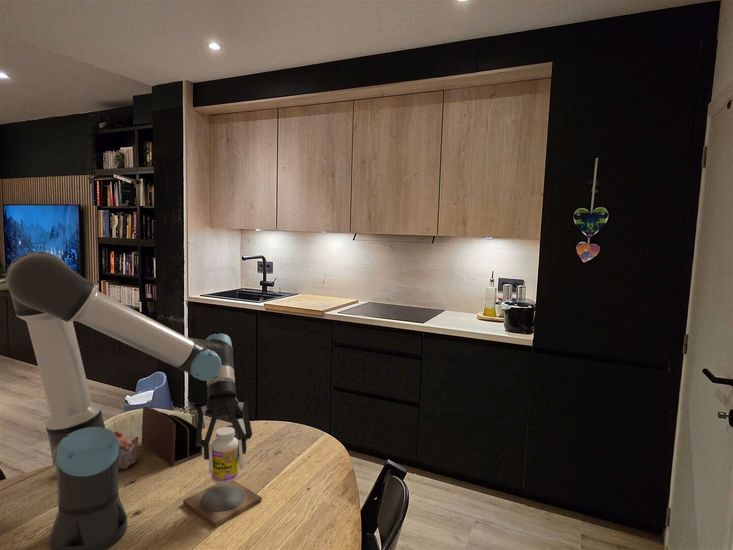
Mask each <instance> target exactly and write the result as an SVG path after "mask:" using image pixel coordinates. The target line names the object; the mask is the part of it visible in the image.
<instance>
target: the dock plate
mask: <svg viewBox="0 0 733 550" xmlns="http://www.w3.org/2000/svg"><path fill="white" fill-rule="evenodd" d="M262 498H263V497H262V496H261V495H259V494H257V493H255V492H254V491H252V490H251V489H249V488H247V487H246V486H243V485H242V484H240V483H239V482H237V481H236V480H234V481H232V482H230V483H227V484H218V483H215V484H214V485H212V486H210V487H208V488H205V489H203V490H202V491H200V492H196V493H194V494H193V495H191V496H189V497H187V498H184V499H183V500H182V501H183V502H182V504H183V506H184V507H186V508H188V509H189V510H190V511H191V512H193V513H195V514H196V515H197V516H198V517H200V518H201V519H202V520H204V521H205V522H207V523H208V524H210V525H211V526H212V527H214V528H215V529H216V528H218V527H219V526H220V525H222V524H225V523H226V522H228V521H230V520H232V519H233V518H234V517H237V516H238V515H240V514H242V513H244V512H245V511H247V510H249V509H251V508H253V507H254V506H256V505H257V504H260V503H261V502H262V501H263V500H262Z"/></svg>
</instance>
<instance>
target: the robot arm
mask: <svg viewBox="0 0 733 550" xmlns="http://www.w3.org/2000/svg"><path fill="white" fill-rule="evenodd" d="M5 281H6V284H7V289H8V291H9V293H10V297H11V300H12V304H13V308H14V311H15V315H16V317H17V318H20V319H21V320H23V321H25V322H26V324H27V329H28V332H29V336H30V340H31V344H32V347H33V351H34V355H35V359H36V363H37V367H38V370H39V374H40V379H41V382H42V383H41V384H42V386H43V389H44V390H43V391H44V394H45V397H46V402H47V406H48V409H49V413H50V416H49V417H48V419H47V420H46V421H45V423H44V424H45V428H46V429H45V430H46V434H47V436H48V441H49V448H50V451H51V454H52V457H53V461H54V466H55V470H56V477H57V478H56V479H57V501H58V502H57V504H58V505H57V506H58V508H57V509H58V511H57V514H56V517H55V520H54V521H53V522H54V523H53V526H52V528H51V531H50V534H49V543H48V544H49V550H107V549H109V548H110V547H112V546H113V545H115V544H116V543H118V542H119V541H120V540H121V539H122V537H123V536H124V535H125V533H126V532H127V531H128V530H127V529H128V515H127V512H126V510H125V508H124V506H123V503H122V500H121V498H120V496H119V469H118V453H119V444H118V440H117V436H116V434H115V433H114V432H115V431H113V430H111V429H109V428H107V427H106V424H105V421H104V418H103V413H102V409H101V406H100V405H99V404H96V403H94V402H92V397H91V394H90V389H89V384H88V380H87V377H86V376H87V375H86V373H85V369H84V364H83V360H82V356H81V351H80V346H79V343H78V339H77V334H76V330H75V326H74V321H75V322H78V323H80V324H83V325H85V326H87V327H89V328H91V329H94V330H95V331H97V332H99V333H102V334H104V335H106V336H108V337H110V338H113V339H115V340H117V341H120V342H121V343H123V344H126V345H128V346H129V347H132V348H135V349H137V350H139V351H141V352H143V353H144V354H145V353H146V354H147V355H150V356H152V357H154V358H156V359H158V360H160V361H162V362H164V363H167V364H169V365H171V366H173V367H175V368H177V369H179V370H181V371H182V372H185V373H187V374H190V375H191V376H192V377H193V378H195V379H198V380H199V381H201V382H203V381H205V382H206V386H207V389H206V390H207V402H206V405H203V406H200V405H199V406H197V407H196V408H195V409H196V411H195V413H196V416H197V426H196V427H197V437H196V446H202V449H203V459H204V461H208V473H209V475H212V473H213V460H212V443H210V441H211V439H212V436H213V432H214V429H215V426H216V424H217V420H221V419H228V420H229V421H230V423H232V425H233V427H234V429H235V431H236V433H237V435H238V438H239V440H238V442H239V452H238V470H239V469H241V470H242V469H243V468H244V457H243V456H244V455H245V454H246V452H247V441H248V440H251V438H252V436H253V431H252V430H253V429H252V425H251V422H250V421H251V420H250V415H249V411H248V408H249V401H247V400H244V401H243V402H241V401H239V399H238V397H237V392H236V390H237V389H236V384H235V382H236V377H235V369H234V354H233V352H234V349H233V345H232V340H231V337H230V336H229V335H227V334H226V333H225V334H224V333H218V334H216V333H214V334H211V335H209V336H207V338H206V339H198V338H194V337H193V338H192V337H188V336H185V335H184V334H181V333H180V332H178V331H175V330H173V329H171V328H169V327H168V326H165V325H164V324H162V323H160V322H158V321H156V320H154V319H153V318H150V317H148V316H147V315H145V314H143V313H141V312H139V311H137V310H136V309H133V308H132V307H129V306H127V305H126V304H123V303H121V302H120V301H118V300H116V299H114V298H112V297H110V296H109V295H106V294H104V293H102V292H100V291H99V290H98V289H97V285H96V284H95V283H93V282H92V281H90V280H88V279H87V278H85V277H83V276H81V275H80V274H78V273H77V272H76V271H75V270H73V269H72V268H71V267H69V265H68V264H66V263H65V262H64V261H63V260H62V259H61V258H60V257H58V256H57V255H55V254H53V253H49V252H44V251H37V252H36V251H35V252H34V251H32V252H27V253H24V254H22V255H20V256H18V257H16V258H15V259H13V261H11V263H10V264H9V266H7V270H6V273H5ZM237 408H239V410H240V411H241V415H242V419H243V421H244V426H245V431H246V434H244V432H243V430H242V428H241V426H240V424H239V422H238V420H237V419H238V417H237V416H236V412H235V411H236V410H237ZM206 411H207V412H208V413H209V414H210V415H211V418H210V423H209V425H208V428H207V432H206V433H205V434H206V435H205V438H204V439H202V440H201V437H202V438H203V424H204V423H203V421H204V416H205V414H206Z"/></svg>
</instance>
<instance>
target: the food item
mask: <svg viewBox="0 0 733 550" xmlns="http://www.w3.org/2000/svg"><path fill="white" fill-rule="evenodd" d="M113 432H114V433H115V434H116V436H117V440H118V444H119V453H118V470H124V471H125V470H126V469H128V468H129V467H130V466H132V465H134V463H136V462H137V461H138V460H137V459H138V455H137V454H138V443H139V436H123V433H122V432H119V431H113Z"/></svg>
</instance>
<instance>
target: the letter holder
mask: <svg viewBox="0 0 733 550" xmlns="http://www.w3.org/2000/svg"><path fill="white" fill-rule="evenodd" d="M196 437H197V426H195V425H194V424H193V423H191V422H189V421H188V420H186V419H185V418H183V417H180V416H177V415H174V414H169V413H165V412H163V411H158V410H156V409H155V408H152V407H149V406H144V407H143V408H142V420H141V441H140V443H141V446H142V447H144V448H145V449H147V450H148V451H150V452H151V453H153V454H154V455H155V456H157V457H158V458H159V459H161V460H163V461H164V462H166V463H167V464H168V465H170V466H172V467H175V466H178V465H180V464H183V463H185V462H188V461H190V460H192V459H195V458H198V457H200V456H202V455H203V447H202V446H196ZM201 440H203V436H202V437H201Z"/></svg>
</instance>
